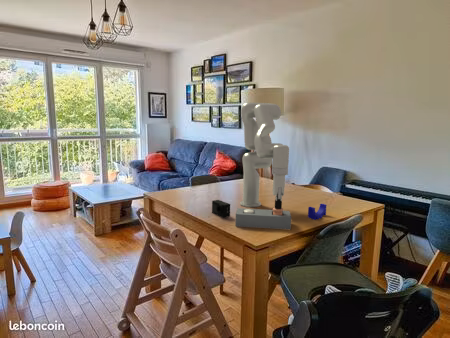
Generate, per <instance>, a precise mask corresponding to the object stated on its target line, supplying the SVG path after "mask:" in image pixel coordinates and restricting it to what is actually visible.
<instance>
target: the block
mask: <svg viewBox="0 0 450 338" xmlns="http://www.w3.org/2000/svg"><path fill="white" fill-rule="evenodd" d="M246 209H247V208H241V207H237V208H236V212H235V224H234V227H243V228H257V229H258V228H259V229H273V230H274V229H275V230H290V231H291V228H292V215H291V212H290V210H283V212H282V215H273V209H258V208H249V209H250V210H254V214H250V213H244V210H246Z"/></svg>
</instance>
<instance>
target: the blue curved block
mask: <svg viewBox="0 0 450 338" xmlns="http://www.w3.org/2000/svg"><path fill="white" fill-rule="evenodd" d="M307 209H308V211H307V218H308V219H310V218H311V220H314V221H317V220H320V219H322V218H323V217H324V216H323V215H325V216H327V215H326V214H327V204H325V203H320V204H319V208H318V209H317V211H316V207H313V206H308V208H307ZM319 218H320V219H319ZM316 219H317V220H316Z"/></svg>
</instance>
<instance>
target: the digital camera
mask: <svg viewBox="0 0 450 338" xmlns="http://www.w3.org/2000/svg"><path fill="white" fill-rule="evenodd" d="M211 213H212V215H213V214H214V215H215V216H218V217H220V218H223V219H225V218H229V217H231V203H228V202H226V201H223V200H220V199H216V200H212V201H211Z"/></svg>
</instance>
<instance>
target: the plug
mask: <svg viewBox="0 0 450 338" xmlns="http://www.w3.org/2000/svg"><path fill="white" fill-rule="evenodd" d="M245 209H246V210H244V213H250V214H254V210H250V209H251V208H245Z"/></svg>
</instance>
